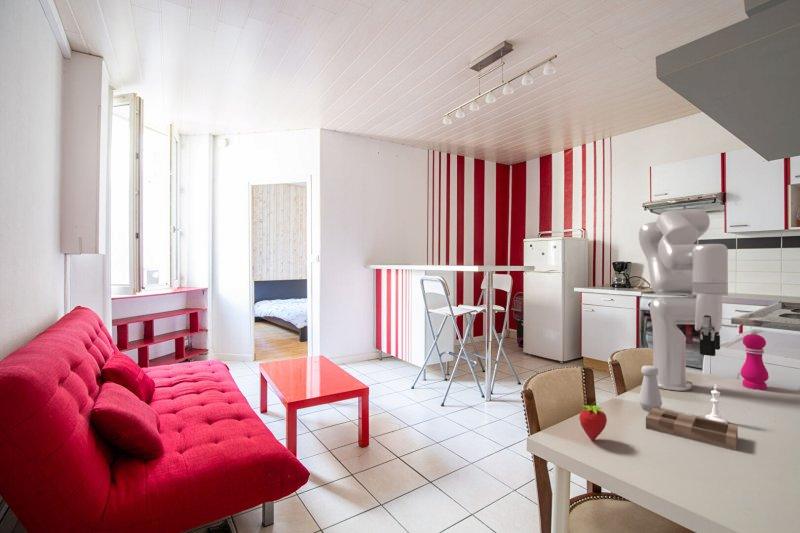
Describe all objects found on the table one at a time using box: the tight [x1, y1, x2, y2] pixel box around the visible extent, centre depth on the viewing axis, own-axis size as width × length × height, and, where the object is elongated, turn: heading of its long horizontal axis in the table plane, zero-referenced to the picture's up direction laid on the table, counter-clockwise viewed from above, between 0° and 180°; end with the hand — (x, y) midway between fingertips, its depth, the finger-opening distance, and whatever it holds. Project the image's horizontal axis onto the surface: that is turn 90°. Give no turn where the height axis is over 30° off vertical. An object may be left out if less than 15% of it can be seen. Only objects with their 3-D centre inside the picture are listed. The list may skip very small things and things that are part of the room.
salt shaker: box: [638, 364, 663, 413], centre depth 115 cm, size 6×6×13 cm
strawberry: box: [578, 401, 608, 441], centre depth 96 cm, size 6×8×10 cm
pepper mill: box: [740, 329, 769, 391], centre depth 134 cm, size 7×7×20 cm
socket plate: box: [645, 408, 739, 451], centre depth 99 cm, size 9×18×3 cm, turn 46°
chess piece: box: [704, 384, 728, 423], centre depth 107 cm, size 5×5×10 cm
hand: (710, 351), depth 105 cm, fingers open, 9 cm apart
